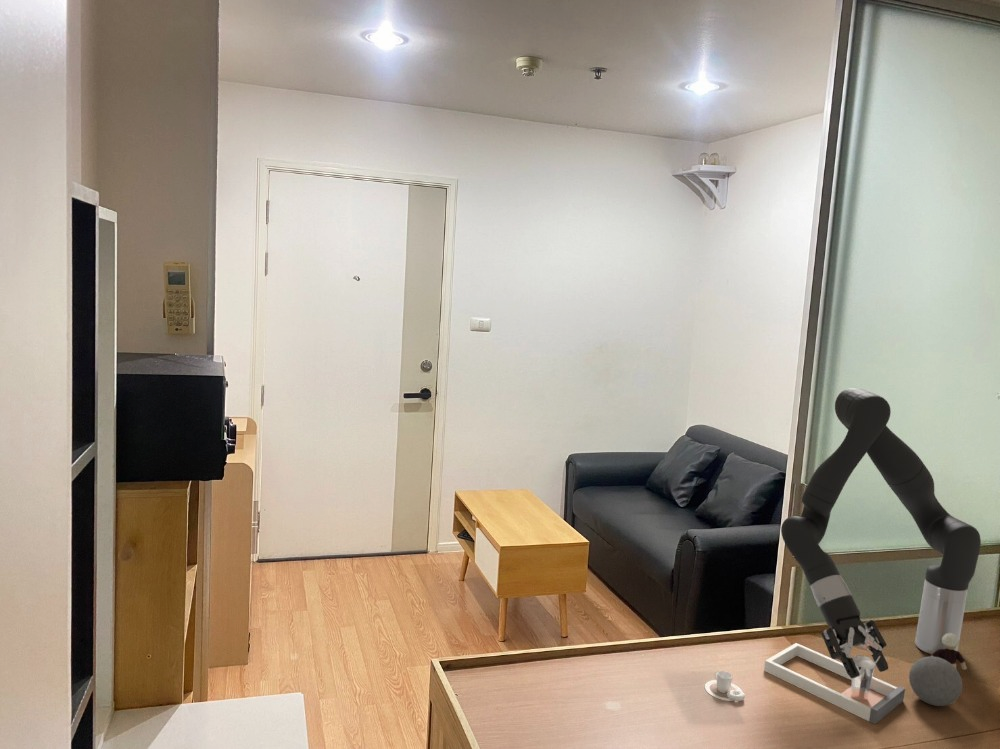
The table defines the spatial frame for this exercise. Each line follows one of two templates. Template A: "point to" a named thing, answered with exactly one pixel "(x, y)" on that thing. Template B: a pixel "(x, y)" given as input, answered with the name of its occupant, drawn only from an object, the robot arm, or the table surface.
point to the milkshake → (862, 677)
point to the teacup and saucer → (725, 687)
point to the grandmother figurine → (950, 651)
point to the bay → (866, 709)
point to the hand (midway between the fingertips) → (870, 673)
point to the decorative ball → (935, 681)
